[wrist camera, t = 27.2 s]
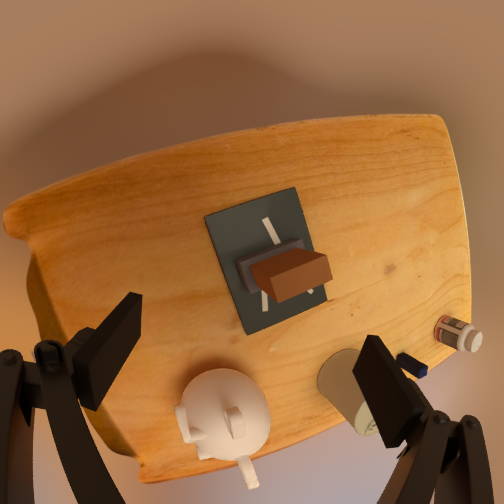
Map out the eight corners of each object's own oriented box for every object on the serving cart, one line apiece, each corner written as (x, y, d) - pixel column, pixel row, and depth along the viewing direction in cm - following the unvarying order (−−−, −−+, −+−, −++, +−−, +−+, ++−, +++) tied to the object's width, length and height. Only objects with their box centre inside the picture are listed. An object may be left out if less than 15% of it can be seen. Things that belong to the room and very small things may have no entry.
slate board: (203, 216, 36) (204, 216, 35) (292, 187, 38) (295, 186, 37) (245, 333, 39) (247, 336, 38) (324, 298, 41) (327, 300, 40)
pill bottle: (441, 343, 50) (475, 358, 40) (429, 336, 48) (465, 353, 39) (452, 319, 50) (487, 332, 40) (441, 311, 48) (478, 325, 39)
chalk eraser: (235, 259, 36) (257, 274, 26) (294, 237, 38) (333, 244, 28) (245, 289, 37) (270, 314, 27) (302, 266, 38) (342, 282, 29)
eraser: (403, 361, 47) (427, 375, 40) (394, 365, 46) (418, 380, 40) (404, 351, 47) (429, 365, 40) (396, 354, 46) (420, 369, 40)
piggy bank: (156, 377, 36) (153, 451, 22) (232, 339, 38) (264, 402, 24) (202, 433, 39) (217, 506, 24) (269, 401, 41) (308, 466, 26)
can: (306, 391, 42) (343, 436, 31) (336, 341, 42) (382, 376, 31) (347, 401, 45) (386, 439, 33) (374, 356, 45) (420, 387, 33)
